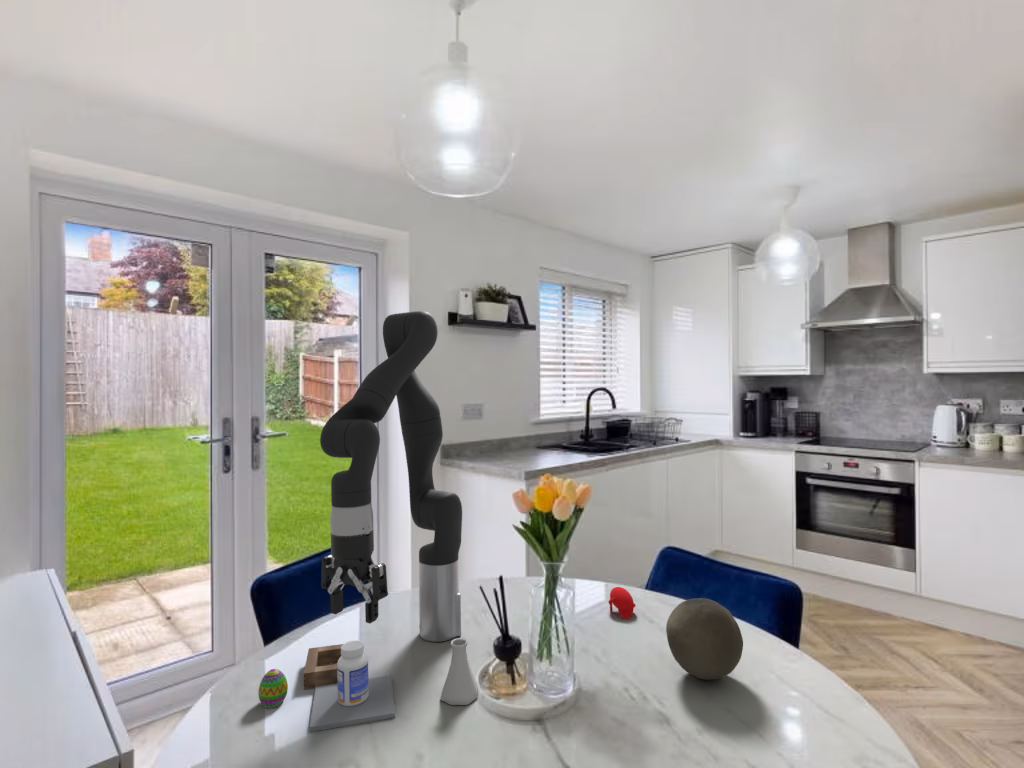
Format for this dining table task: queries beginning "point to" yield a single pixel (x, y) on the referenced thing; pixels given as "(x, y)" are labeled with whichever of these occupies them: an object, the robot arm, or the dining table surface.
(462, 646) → the flask
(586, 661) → the dining table surface
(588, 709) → the dining table surface
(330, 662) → the walnut socket
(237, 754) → the dining table surface
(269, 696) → the egg
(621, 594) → the red rounded figure
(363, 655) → the pill bottle
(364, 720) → the slate mat
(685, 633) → the grey river stone
